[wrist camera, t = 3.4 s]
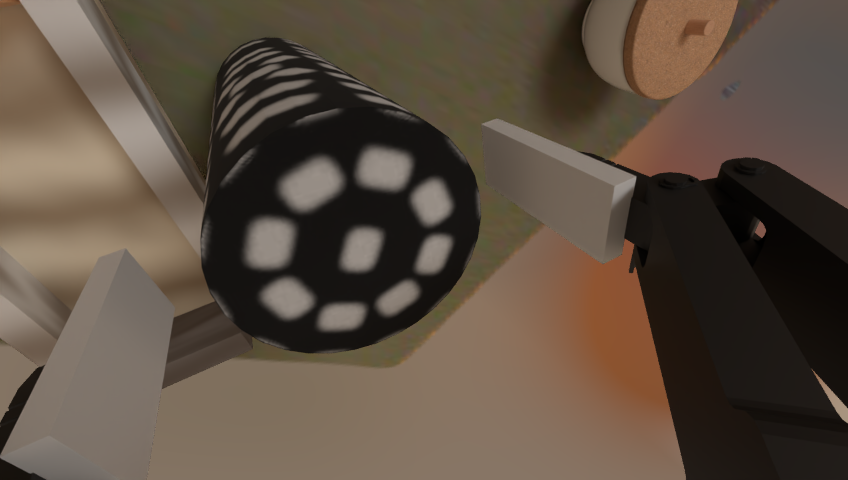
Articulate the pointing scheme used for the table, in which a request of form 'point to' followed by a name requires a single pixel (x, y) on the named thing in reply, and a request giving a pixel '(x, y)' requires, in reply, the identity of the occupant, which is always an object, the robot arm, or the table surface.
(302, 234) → the white-spotted black cylinder
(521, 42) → the table surface
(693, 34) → the lidded jar
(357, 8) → the table surface
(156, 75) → the table surface
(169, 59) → the table surface
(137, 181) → the marbled beige tray
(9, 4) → the block
